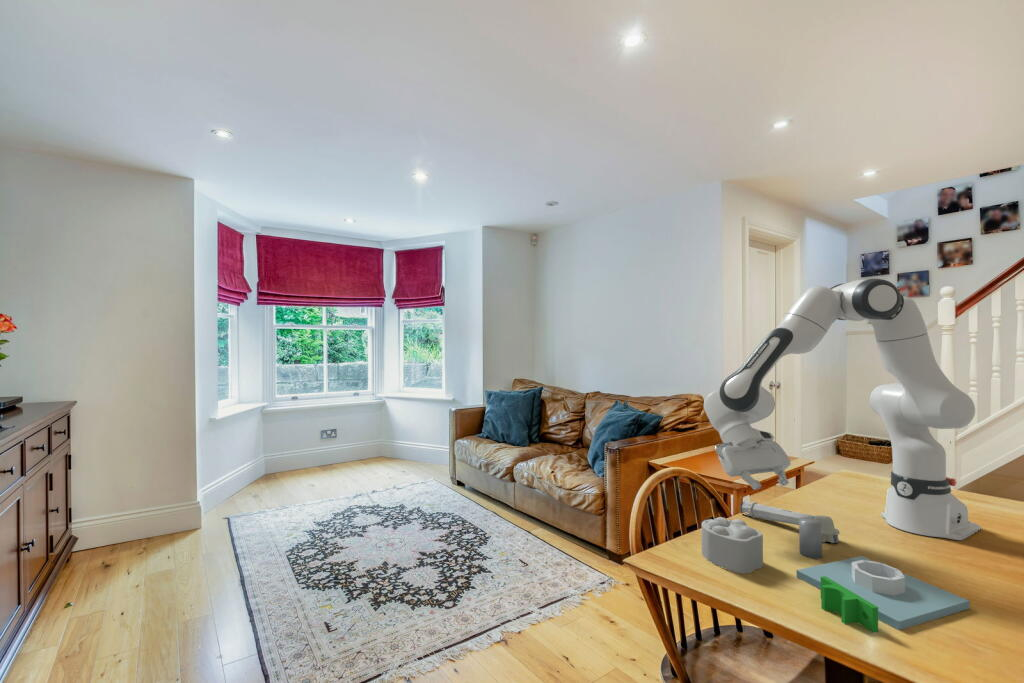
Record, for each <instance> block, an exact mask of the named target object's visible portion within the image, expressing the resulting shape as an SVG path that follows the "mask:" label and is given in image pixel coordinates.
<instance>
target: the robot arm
mask: <svg viewBox="0 0 1024 683" xmlns="http://www.w3.org/2000/svg"><path fill="white" fill-rule="evenodd" d="M837 320H839V321H853V322H854V321H855V322H856V321H860V322H862V321H864V320H866V321H868V322H869V323H870V324H871V326H872V328H873V330H874V331H873V332H874V336H875V340H876V345H877V348H878V353H879V357H880V363H881V364H882V366H883V368H884V369H885V370H886V371H887V372H888V373H890V374H891V375H892V376H894V378H896V379H897V381H898V382H891V383H885V384H881V385H878V386H876V387H875V388H874V389H872V391H871V393H870V397H869V404H870V407H871V409H872V411H873V412H874V413H875V414H876V415H878V417H879V418H880V419H881V422H882V423H883V425H884V427H885V429H886V431H887V433H888V437H889V439H890V445H891V455H892V470H891V471H890V478H889V479H890V485H891V487H888V488H887V491H886V500H885V510H884V511H882V512H881V513H880V516H881V517H882V518H884V519H885V523H886V524H888V525H890V526H892V527H893V528H896V529H899V530H901V531H905V532H908V533H910V534H911V533H912V534H916V535H920V536H926V537H935V538H943V539H950V540H955V541H963V540H965V539H967V538H969V537H971V536H972V535H974V534H976V533H977V532H979V531H981V530H980V529H981V525H979V524H977V523H975V522H973V521H970V520H969V511H968V510H969V509H968V507H967V505H966V504H965V503H963V502H962V501H961V500H960V499H959V498H957V497H956V496H955V495H954V494H953V493H952V489H951V487H956V485H957V480H956V479H955V478H953V477H948V476H947V464H946V463H947V453H946V450H945V448H944V447H943V445H942V444H941V443H939V442H938V441H937V440H936V439H935V438H934V436H933V434H932V433H931V431H930V429H929V428H933V429H938V430H943V429H944V430H950V429H952V430H953V429H962V428H965V427H967V426H969V424H970V423H971V422H972V421H973V419H974V418H975V416H976V415H975V414H976V407H975V403H974V400H973V399H972V398H971V396H970V395H968V394H967V393H965V392H964V391H962V390H961V389H959V388H958V387H957V386H956V385H954V384H953V383H952V382H951V381H950V380H949V378H948V377H947V376H946V375H945V373H944V372H943V371H942V368H941V367H940V366H939V364H938V362H937V360H936V358H935V355H934V352H933V351H934V350H933V348H932V345H931V342H930V341H931V340H930V336H929V333H928V330H927V326H926V322H925V320H924V318H923V314H922V313H921V311H920V308H919V307H918V305H917V303H916V302H915V301H914V299H912V298H910V297H909V296H903V295H902V294H901V292H900V290H899V289H898V287H897V286H896V285H895V284H894V283H892V282H891V281H889V280H886V279H882V278H868V279H857V280H856V279H855V280H851V281H848V282H845V283H840V284H835V285H834V286H832V287H830V288H829V287H827V286H826V287H825V286H821V285H816V286H815V285H814V286H811V287H809V288H807V289H806V290H805V291H804V292H803V293H802V294H801V295H800V296H799V297H798V298H797V300H795V302H793V304H792V306H791V307H789V310H788V311H787V313H785V315H784V316H783V318H782V319H781V320H780V322H779V323H778V324H777V326H776V327H775V328H774V329H773V330H772V331H770V332H769V333H768V334H766V336H765V337H764V338H763V340H762V341H761V342H760V343H759V344H758V345H757V347H755V349H754V350H753V351H752V353H751V354H750V355H749V356H748V357H747V359H746V360H745V361H744V362H743V364H742V365H741V366H740V367H739V368H738V369H737V370H736V371H734V372H732V373H731V374H730V375H728V376H727V377H726V378H725V379H724V380H723V381H722V383H721V385H720V387H719V389H717V390H713V391H712V392H710V394H708V395H707V396H706V398H705V399H704V401H703V409H704V412H705V414H706V417H707V419H708V420H709V422H710V423H711V425H712V428H714V430H715V431H717V432H718V434H719V437H720V439H721V441H722V443H717V444H716V446H715V447H714V451H715V453H716V455H717V456H718V459H719V461H720V464H721V466H722V468H723V471H724V472H725V474H726V475H728V476H729V477H731V478H732V477H741V479H742V480H743V481H744V482H746V483H747V484H748V485H750V487H751V488H752V490H754V491H755V490H760V489H761V488H762V484H761V483H760V481H759V480H756V479H755V478H753V476H751V475H756V474H757V475H759V474H764V473H773V472H774V474H775V475H776V476H778V479H777V482H778V484H779V485H780V486H781V487H783V486H784V487H785V486H787V485H789V483H790V482H789V480H788V478H787V477H786V470H787V469H788V468H789V467H790V466H791V459H790V457H789V455H787V453H786V451H784V449H783V447H782V446H781V445H780V444H779V443H778V442H776V441H774V440H775V437H774V435H773V434H772V433H771V432H768V431H763V430H760V429H758V428H753V427H752V425H751V424H754V423H758V422H760V421H761V420H764V419H766V418H768V417H769V416H771V414H772V413H773V412H774V409H775V406H776V405H775V404H776V403H775V398H774V396H773V394H772V393H771V392H770V391H768V390H767V389H766V388H765V387H763V386H762V383H763V381H764V379H765V378H766V377H767V375H768V374H769V373H770V372H771V370H772V369H773V368H774V367H775V366H776V364H777V363H778V362H779V361H780V359H782V358H783V357H785V356H787V355H791V354H794V355H802V354H805V353H809V352H812V351H813V350H814V348H816V347H817V346H818V345H819V344H820V343H821V341H822V340H823V339H824V337H825V335H826V334H827V333H828V332H829V330H830V329H831V327H832V325H833V323H835V322H836V321H837ZM978 530H979V531H978ZM975 532H976V533H975Z"/></svg>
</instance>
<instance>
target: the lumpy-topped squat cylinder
mask: <svg viewBox="0 0 1024 683" xmlns="http://www.w3.org/2000/svg"><path fill="white" fill-rule="evenodd" d="M763 537H764V535H763V533H762V532H761V531H760V530H758V529H757V528H756V529H755V528H754V527H751V526H748V525H747V524H746V522H745V521H744V520H742V519H740V518H735V519H732V520H731V519H727V518H726V517H722V516H721V517H720V516H718V517H716V518H714V519H712V518H710V519H704V520H703V521H702V522H701V555H702V554H703V555H702V556H703V558H704V557H705V558H706V559H707V560H706V559H705V558H704V559H705V560H706V561H708V562H709V561H710V562H709V563H711V562H712V563H711V564H713V563H714V564H713V565H715V564H716V565H715V566H717V565H718V566H717V567H719V566H720V567H719V568H722V567H723V568H722V569H724V568H726V569H725V570H727V569H728V571H729V570H730V572H732V571H733V573H736V572H737V573H736V574H742V573H745V574H744V575H747V574H746V573H749V574H751V573H753V570H754V571H756V570H758V568H759V569H761V568H763V567H764V540H763V539H764V538H763ZM755 569H756V570H755ZM742 575H743V574H742Z"/></svg>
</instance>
